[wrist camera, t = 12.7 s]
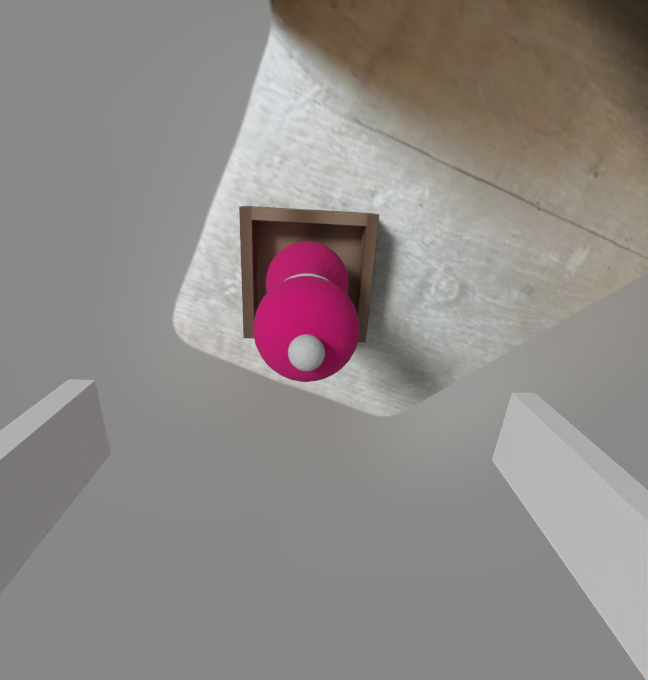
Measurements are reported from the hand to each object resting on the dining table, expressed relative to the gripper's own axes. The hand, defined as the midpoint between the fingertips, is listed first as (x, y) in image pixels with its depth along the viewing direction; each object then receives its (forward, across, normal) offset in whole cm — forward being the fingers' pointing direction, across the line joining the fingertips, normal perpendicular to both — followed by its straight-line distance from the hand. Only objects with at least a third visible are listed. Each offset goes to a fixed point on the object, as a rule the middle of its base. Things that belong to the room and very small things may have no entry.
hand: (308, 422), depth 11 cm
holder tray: (+26, 0, 0) cm, 26 cm away
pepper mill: (+25, 0, 0) cm, 25 cm away
